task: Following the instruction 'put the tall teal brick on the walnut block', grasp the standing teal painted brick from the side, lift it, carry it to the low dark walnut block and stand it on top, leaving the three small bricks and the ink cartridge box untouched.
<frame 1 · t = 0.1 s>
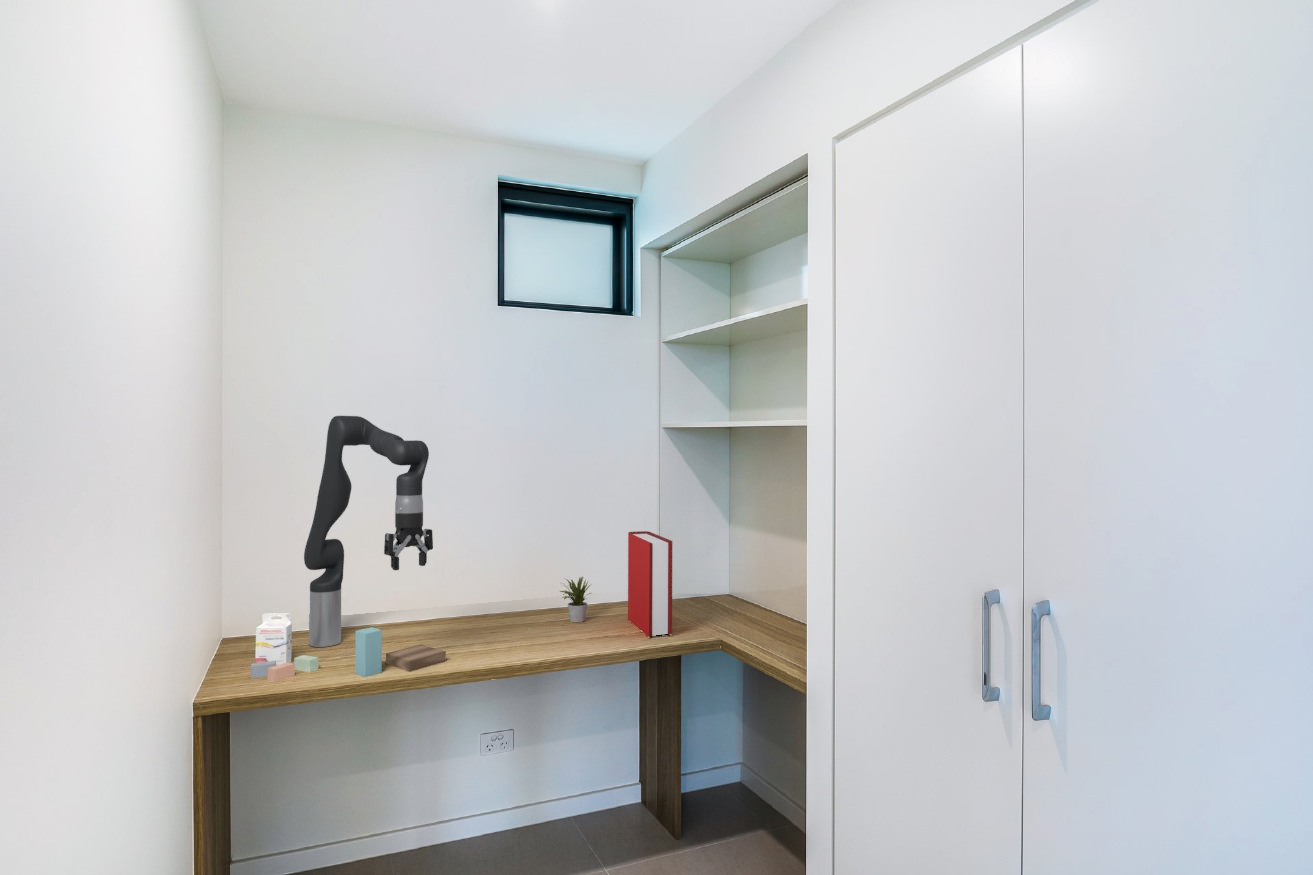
hand: (409, 567, 209), 29 cm above the table, tool pointing down, fingers open, 8 cm apart
sage brick: (306, 669, 210), on the table
slate brick: (263, 675, 205), on the table
terracotta brick: (281, 678, 202), on the table
tall teal brick: (368, 673, 207), on the table
house plant: (576, 620, 268), on the table
book: (648, 628, 258), on the table
walnut block: (415, 662, 217), on the table
ink cartridge box: (273, 666, 214), on the table
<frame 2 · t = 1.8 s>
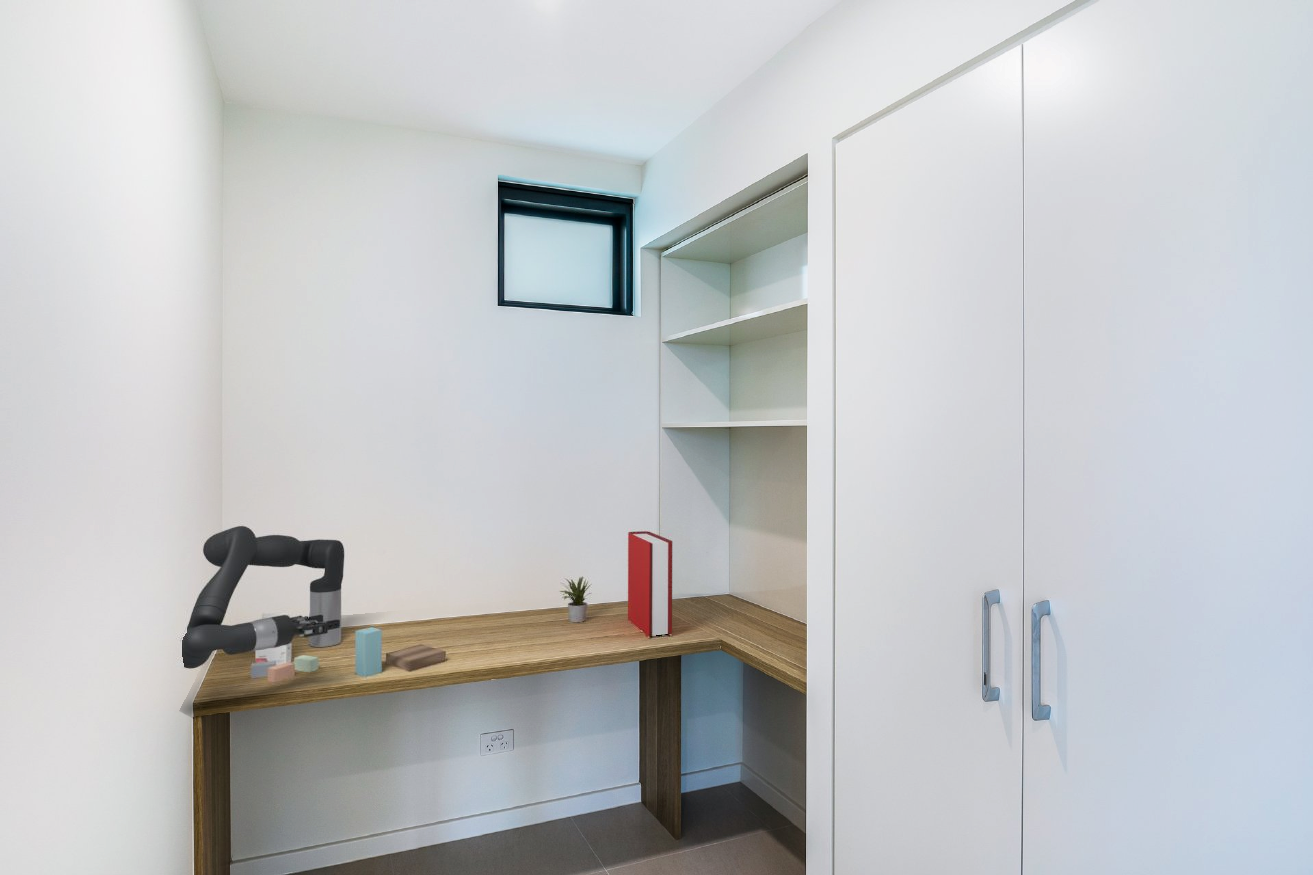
hand: (330, 620, 198), 17 cm above the table, tool horizontal, fingers open, 8 cm apart
nothing on the table moved.
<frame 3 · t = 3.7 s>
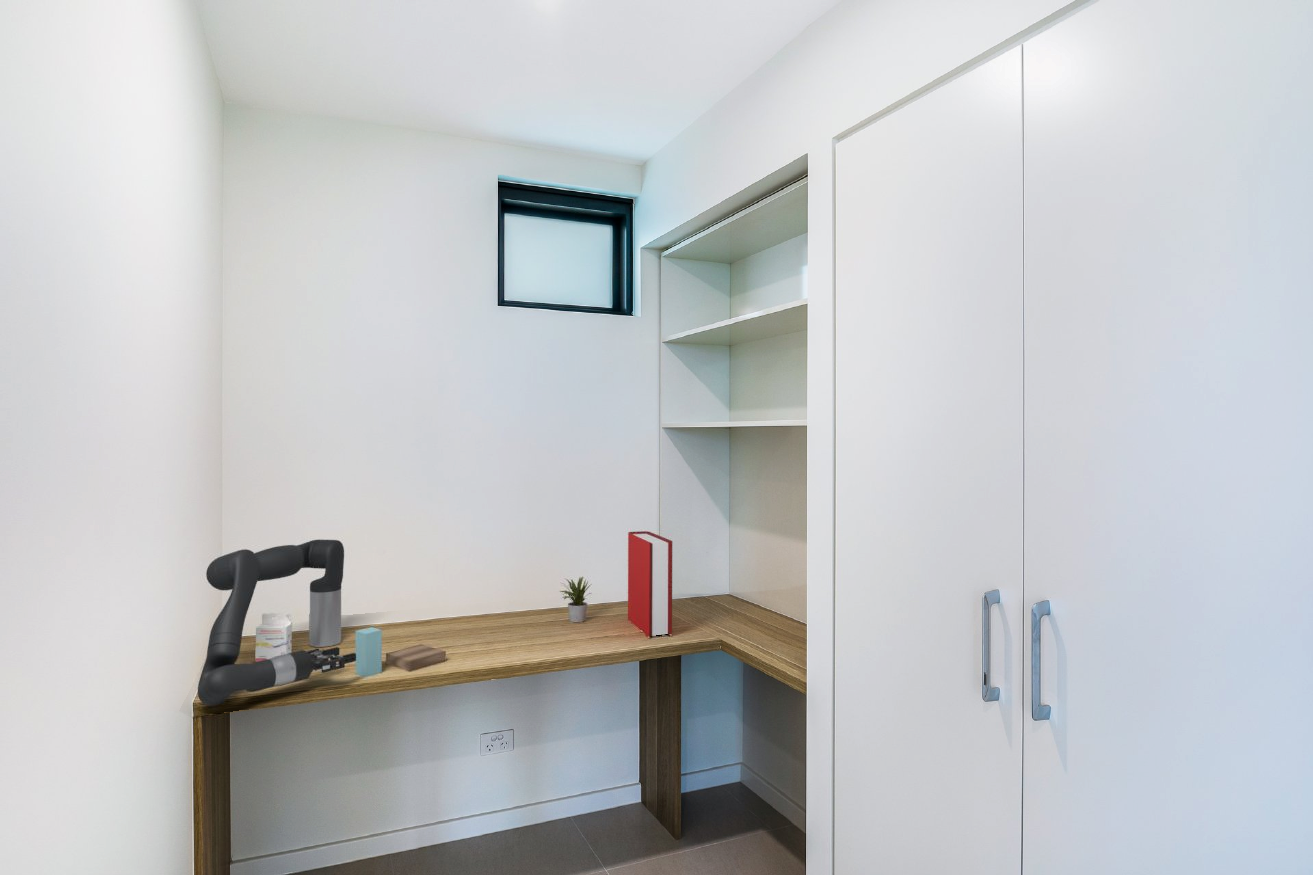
hand: (347, 653, 202), 7 cm above the table, tool horizontal, fingers open, 8 cm apart
nothing on the table moved.
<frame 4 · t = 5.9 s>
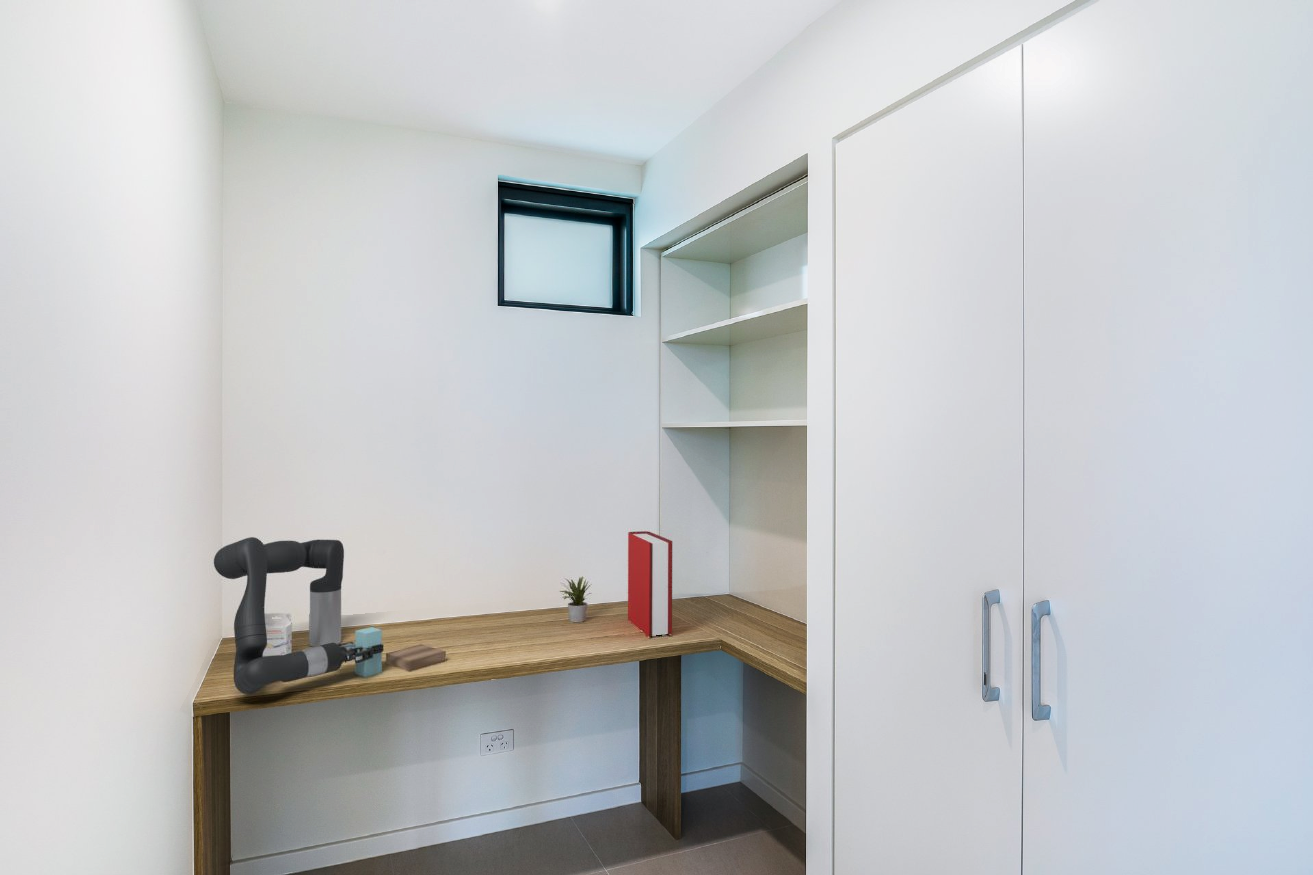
hand: (376, 645, 209), 7 cm above the table, tool horizontal, fingers closed on tall teal brick, 5 cm apart
tall teal brick: (368, 673, 207), on the table, touching gripper
everything else where it was.
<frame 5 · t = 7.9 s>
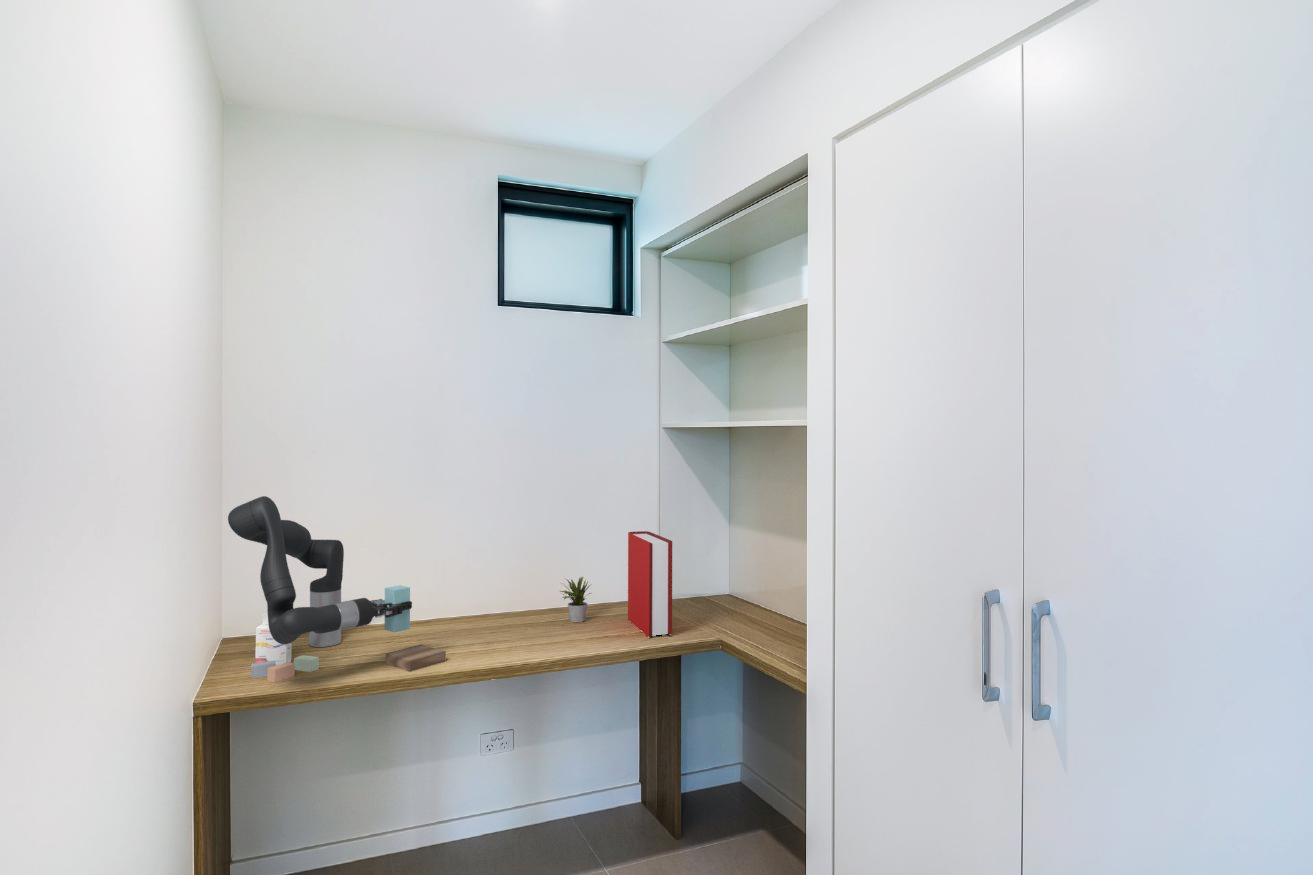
hand: (405, 603, 215), 18 cm above the table, tool horizontal, fingers closed on tall teal brick, 5 cm apart
tall teal brick: (397, 629, 213), point 11 cm above the table, touching gripper
everything else where it was.
when the fingers open (11 cm above the table, at t = 9.9 s): tall teal brick drops 1 cm, resting on walnut block.
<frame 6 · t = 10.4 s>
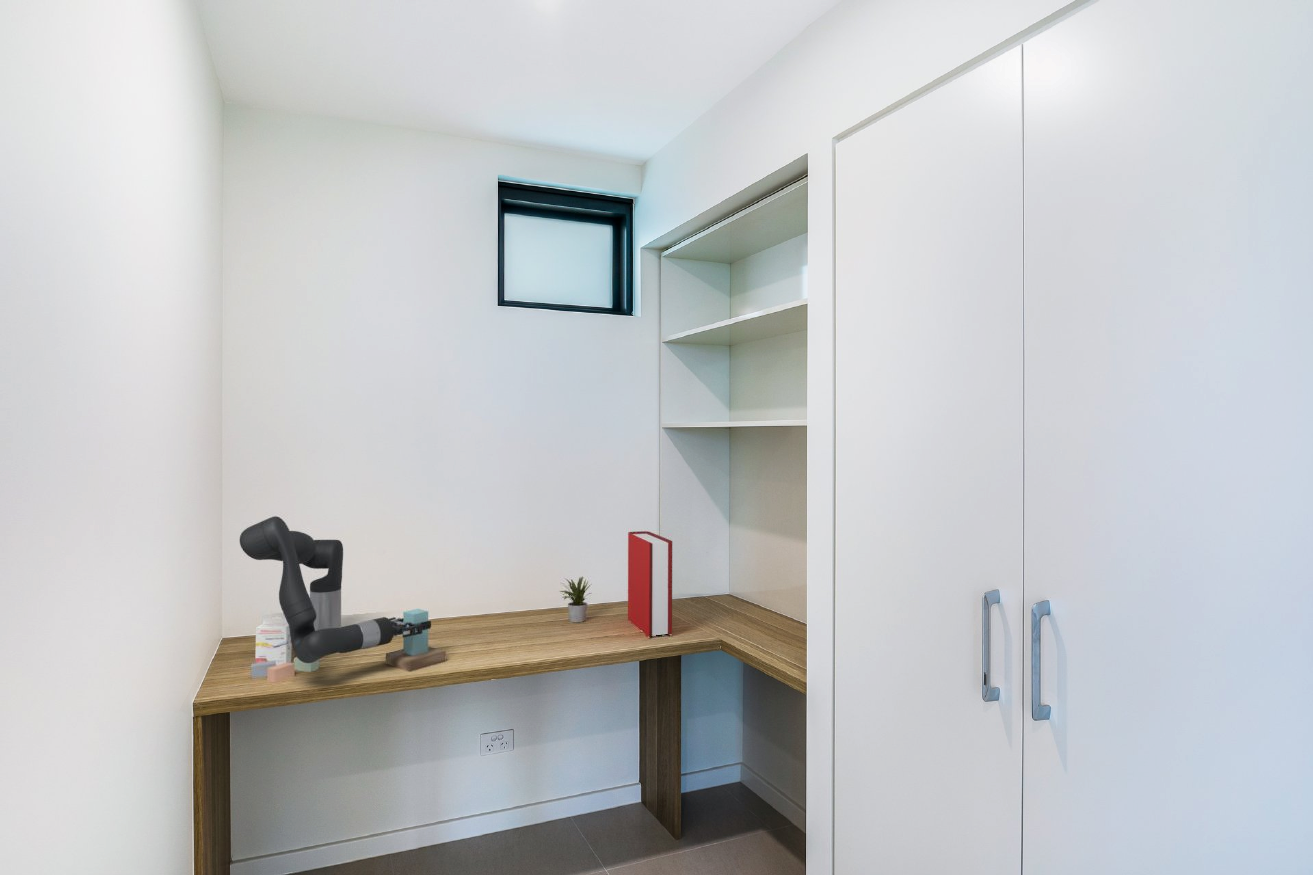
hand: (421, 622, 218), 12 cm above the table, tool horizontal, fingers open, 8 cm apart
tall teal brick: (415, 652, 217), point 3 cm above the table, touching walnut block
everything else where it was.
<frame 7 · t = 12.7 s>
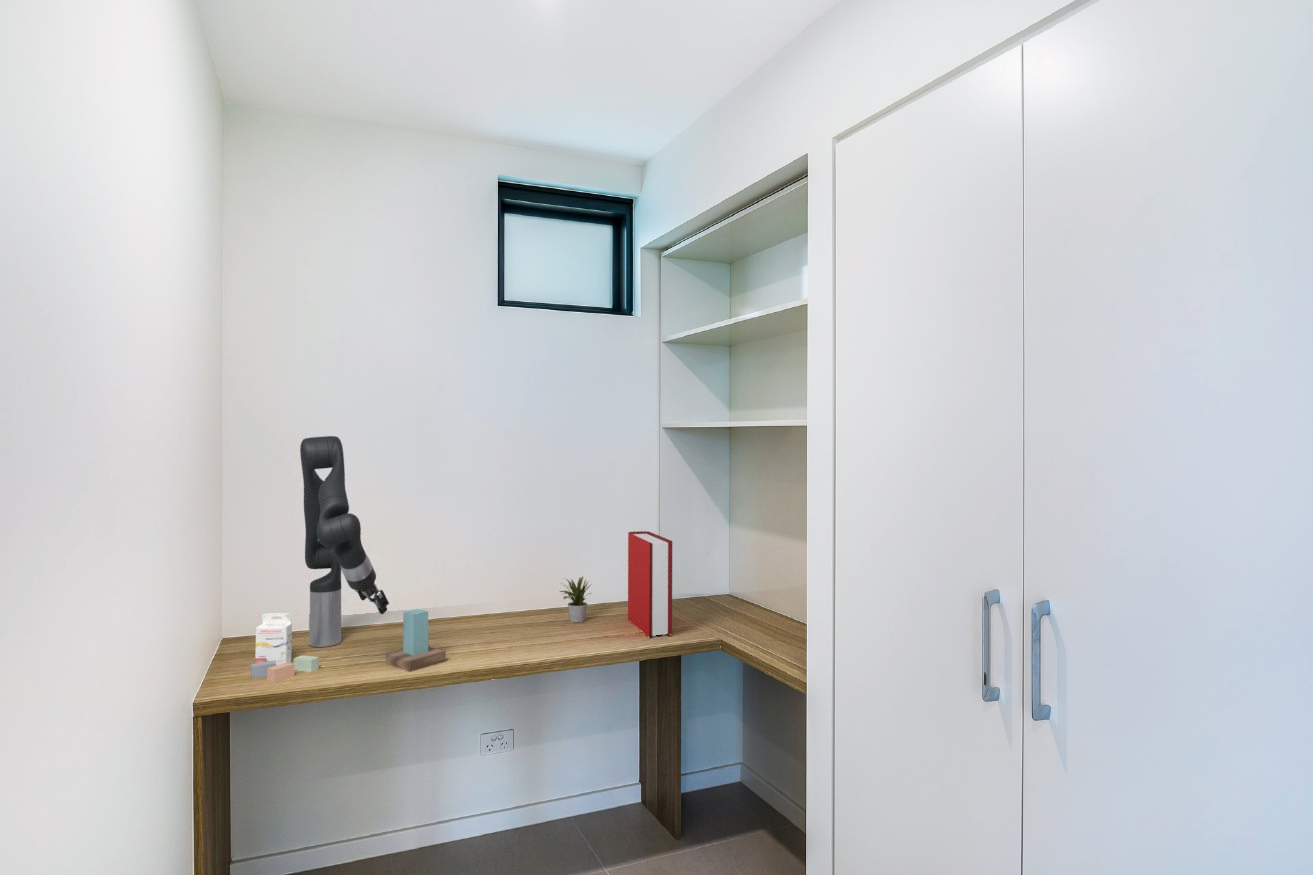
hand: (374, 604, 214), 18 cm above the table, tool tilted 40°, fingers open, 8 cm apart
nothing on the table moved.
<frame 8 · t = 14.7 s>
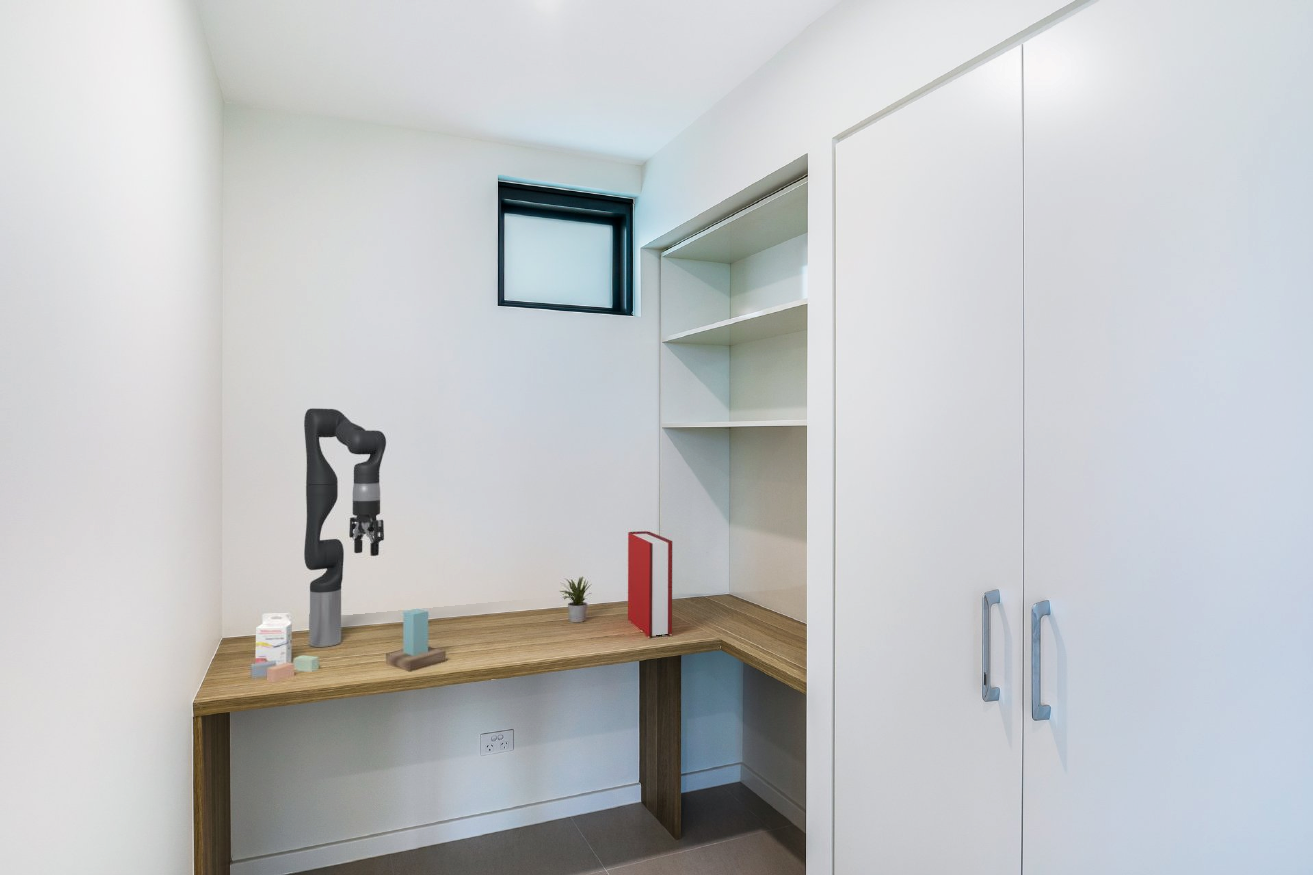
hand: (366, 554, 215), 32 cm above the table, tool pointing down, fingers open, 8 cm apart
nothing on the table moved.
at the end: tall teal brick inside the target area on the walnut block (0.1 cm from its centre), point 3.0 cm above the walnut block's base; tall teal brick tilted 0°; terracotta brick moved 0.2 cm from its start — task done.
